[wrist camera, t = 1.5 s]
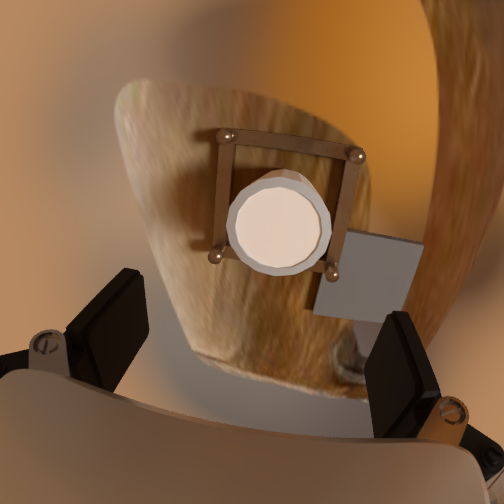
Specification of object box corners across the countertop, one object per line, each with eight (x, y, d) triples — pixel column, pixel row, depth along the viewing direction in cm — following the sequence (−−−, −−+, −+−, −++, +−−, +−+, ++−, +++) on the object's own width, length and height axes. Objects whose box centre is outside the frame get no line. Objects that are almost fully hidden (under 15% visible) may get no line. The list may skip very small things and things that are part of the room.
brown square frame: (223, 127, 23) (215, 128, 21) (360, 147, 22) (367, 150, 20) (214, 251, 28) (207, 263, 26) (334, 269, 27) (337, 283, 25)
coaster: (331, 225, 26) (332, 228, 25) (421, 242, 25) (424, 245, 24) (312, 309, 30) (312, 314, 29) (392, 319, 29) (394, 324, 28)
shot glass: (243, 159, 24) (224, 174, 18) (326, 164, 24) (337, 181, 17) (243, 235, 27) (226, 272, 21) (319, 241, 26) (325, 280, 20)
